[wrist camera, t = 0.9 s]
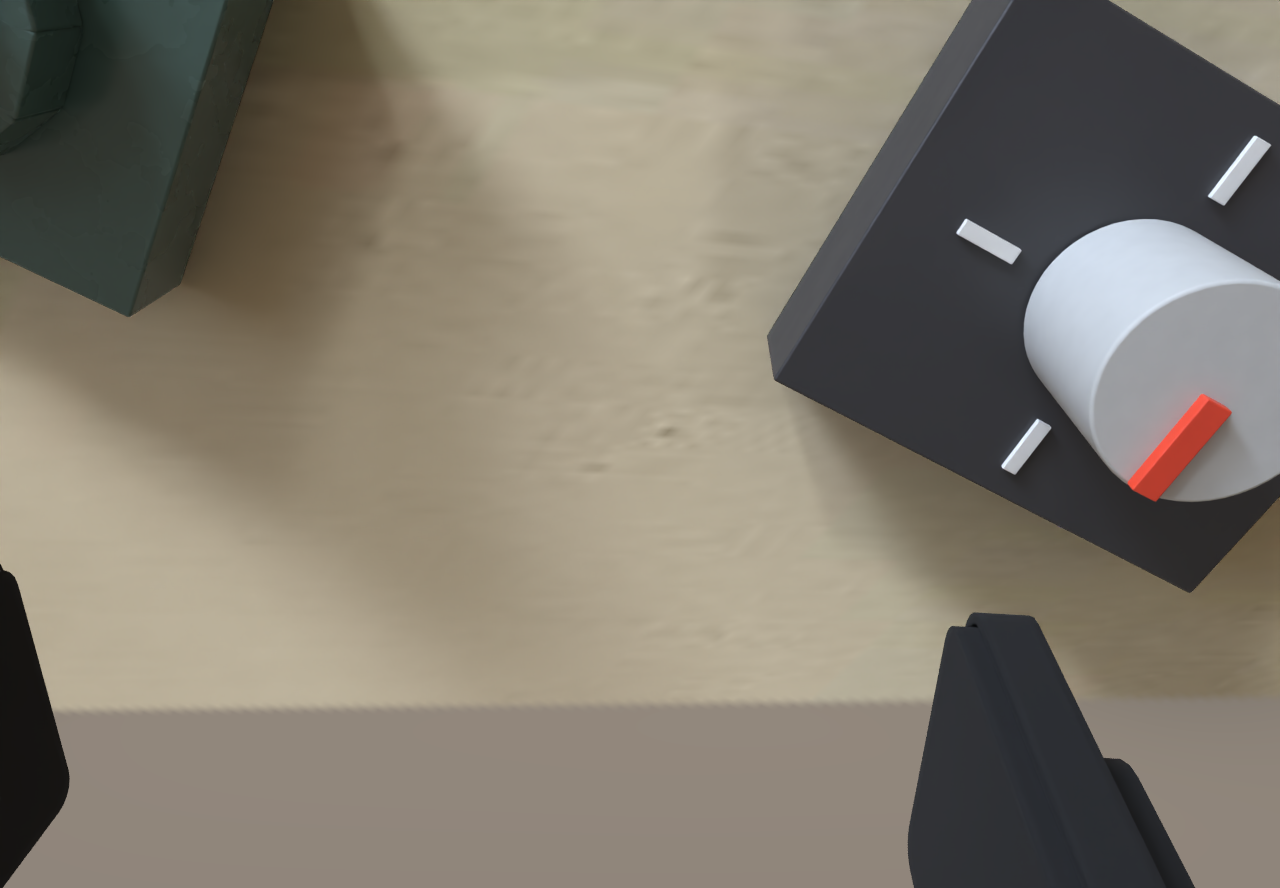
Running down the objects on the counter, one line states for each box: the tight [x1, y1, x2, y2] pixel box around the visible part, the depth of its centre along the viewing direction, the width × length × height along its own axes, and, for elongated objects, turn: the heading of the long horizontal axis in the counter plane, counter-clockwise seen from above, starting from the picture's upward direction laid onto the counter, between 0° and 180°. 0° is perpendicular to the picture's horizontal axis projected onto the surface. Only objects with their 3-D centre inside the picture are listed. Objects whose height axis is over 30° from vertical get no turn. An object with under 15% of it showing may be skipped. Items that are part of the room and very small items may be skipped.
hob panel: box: [767, 0, 1280, 593], centre depth 24 cm, size 10×12×3 cm
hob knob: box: [1024, 219, 1280, 502], centre depth 21 cm, size 4×4×5 cm
